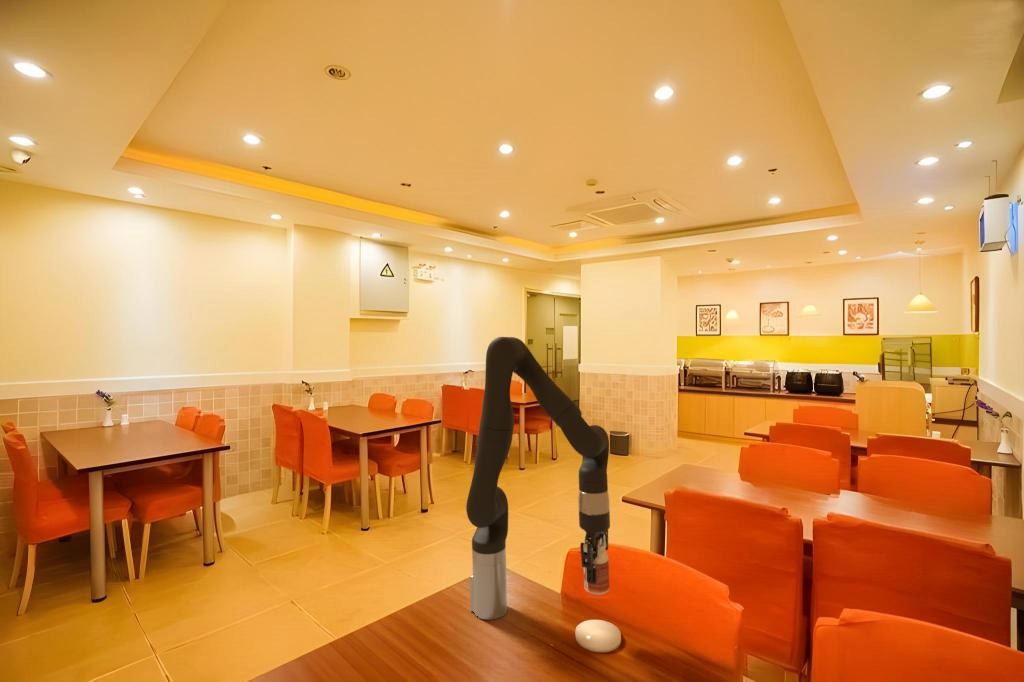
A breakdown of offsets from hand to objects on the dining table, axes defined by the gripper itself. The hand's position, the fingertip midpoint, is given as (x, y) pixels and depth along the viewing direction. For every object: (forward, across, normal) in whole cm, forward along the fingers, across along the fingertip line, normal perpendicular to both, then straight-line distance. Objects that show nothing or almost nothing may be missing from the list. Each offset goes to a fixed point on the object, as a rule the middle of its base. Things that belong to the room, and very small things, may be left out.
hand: (596, 576), depth 114 cm
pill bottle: (+3, 0, 0) cm, 3 cm away
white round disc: (+15, 0, 0) cm, 15 cm away
